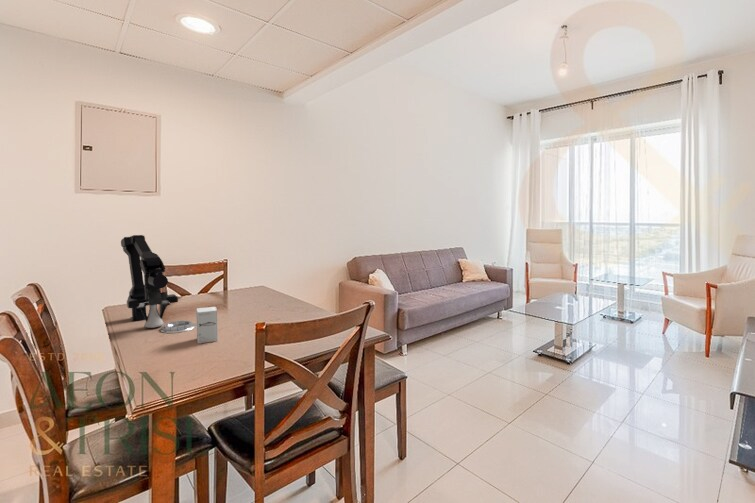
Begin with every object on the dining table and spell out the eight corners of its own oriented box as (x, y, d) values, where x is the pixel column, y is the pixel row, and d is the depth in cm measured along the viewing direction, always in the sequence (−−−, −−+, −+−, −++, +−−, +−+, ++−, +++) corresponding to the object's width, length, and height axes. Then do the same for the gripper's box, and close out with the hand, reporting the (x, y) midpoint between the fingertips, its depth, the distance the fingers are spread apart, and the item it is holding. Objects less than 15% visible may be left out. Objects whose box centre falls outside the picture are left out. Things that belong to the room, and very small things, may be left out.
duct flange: (157, 327, 165) (157, 323, 165) (191, 321, 174) (191, 317, 174) (163, 335, 154) (163, 330, 154) (199, 328, 163) (199, 324, 163)
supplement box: (197, 344, 144) (196, 312, 143) (196, 338, 151) (195, 307, 150) (218, 341, 148) (217, 310, 147) (216, 335, 154) (215, 306, 153)
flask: (154, 328, 161) (153, 306, 160) (140, 327, 162) (139, 305, 161) (167, 324, 168) (166, 302, 167) (153, 322, 169) (152, 301, 168)
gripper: (129, 290, 151) (131, 328, 153) (180, 285, 163) (181, 320, 165) (125, 286, 160) (127, 322, 161) (174, 281, 172) (175, 315, 173)
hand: (153, 320), depth 165 cm, fingers closed on flask, 5 cm apart
